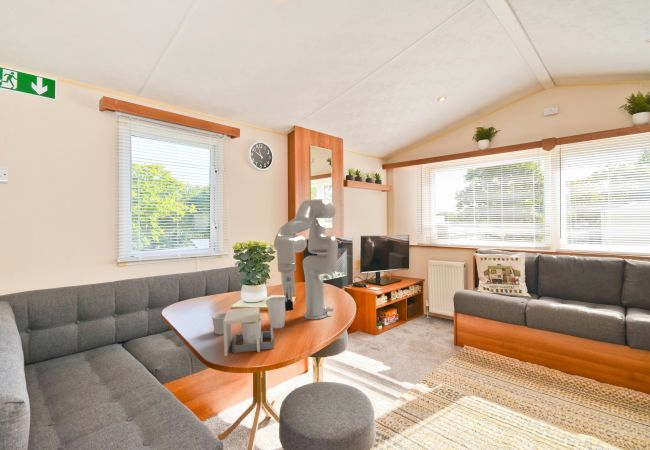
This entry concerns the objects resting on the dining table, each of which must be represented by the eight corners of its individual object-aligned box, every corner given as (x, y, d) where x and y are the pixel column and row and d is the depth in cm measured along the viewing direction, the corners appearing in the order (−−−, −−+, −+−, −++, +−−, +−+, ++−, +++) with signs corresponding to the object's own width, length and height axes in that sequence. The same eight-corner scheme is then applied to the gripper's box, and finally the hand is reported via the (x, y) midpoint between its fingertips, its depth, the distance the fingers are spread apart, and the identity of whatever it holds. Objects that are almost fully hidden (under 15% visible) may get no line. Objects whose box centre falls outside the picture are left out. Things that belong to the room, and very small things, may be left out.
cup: (217, 328, 146) (216, 311, 145) (234, 327, 146) (233, 310, 146) (210, 336, 135) (210, 318, 135) (229, 335, 135) (228, 317, 135)
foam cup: (285, 321, 151) (284, 295, 151) (289, 328, 143) (288, 300, 142) (266, 324, 148) (265, 298, 148) (269, 331, 139) (268, 302, 139)
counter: (260, 336, 133) (259, 306, 133) (259, 352, 117) (258, 318, 117) (229, 339, 130) (228, 309, 130) (224, 356, 115) (223, 321, 115)
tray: (273, 336, 132) (272, 327, 132) (273, 348, 120) (273, 338, 120) (235, 340, 129) (235, 331, 129) (232, 353, 117) (231, 342, 117)
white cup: (256, 349, 120) (255, 324, 120) (238, 347, 122) (237, 323, 122) (265, 341, 128) (264, 318, 127) (248, 340, 130) (247, 316, 129)
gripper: (297, 269, 120) (300, 315, 122) (294, 263, 135) (296, 303, 136) (278, 271, 119) (281, 317, 120) (277, 264, 134) (279, 305, 135)
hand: (289, 309), depth 128 cm, fingers closed
